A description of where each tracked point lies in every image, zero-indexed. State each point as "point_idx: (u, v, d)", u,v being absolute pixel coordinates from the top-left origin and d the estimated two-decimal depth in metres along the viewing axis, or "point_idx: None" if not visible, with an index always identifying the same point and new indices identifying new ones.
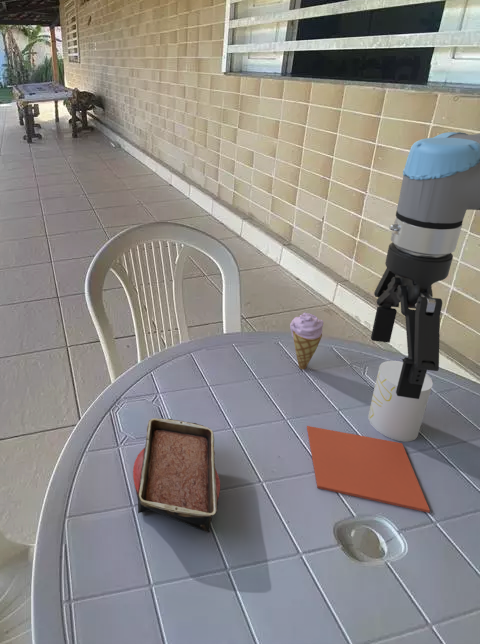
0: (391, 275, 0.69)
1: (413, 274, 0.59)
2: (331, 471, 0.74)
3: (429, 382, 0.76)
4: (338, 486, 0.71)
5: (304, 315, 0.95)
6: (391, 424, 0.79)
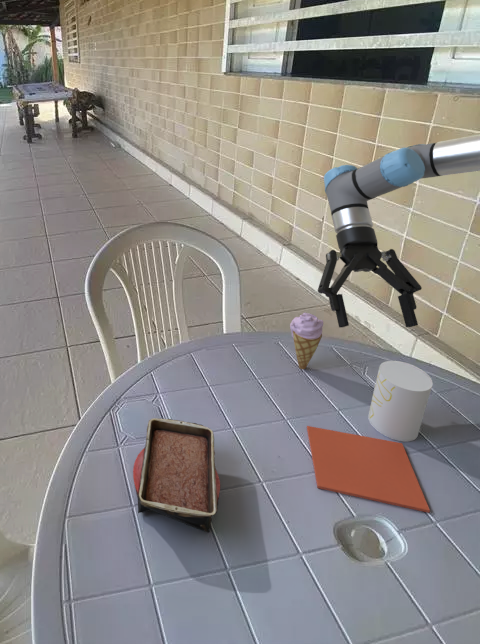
0: (390, 265, 0.92)
1: (338, 245, 0.96)
2: (331, 471, 0.74)
3: (429, 382, 0.76)
4: (338, 486, 0.71)
5: (304, 315, 0.95)
6: (391, 424, 0.79)
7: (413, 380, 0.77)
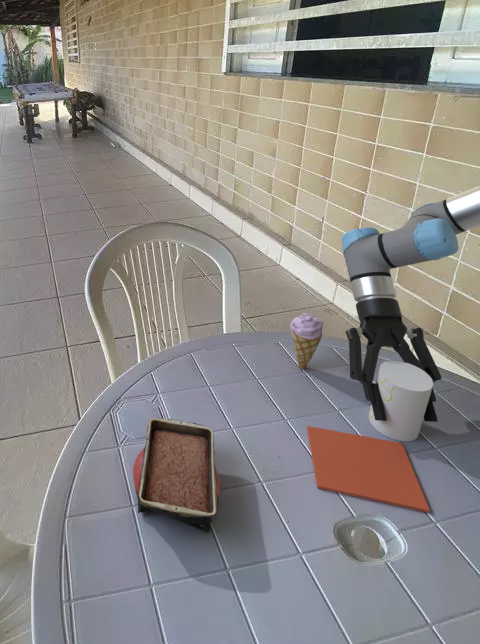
0: (413, 344, 0.84)
1: (358, 315, 0.88)
2: (331, 471, 0.74)
3: (429, 383, 0.76)
4: (338, 486, 0.71)
5: (304, 315, 0.95)
6: (391, 424, 0.79)
7: (413, 380, 0.77)
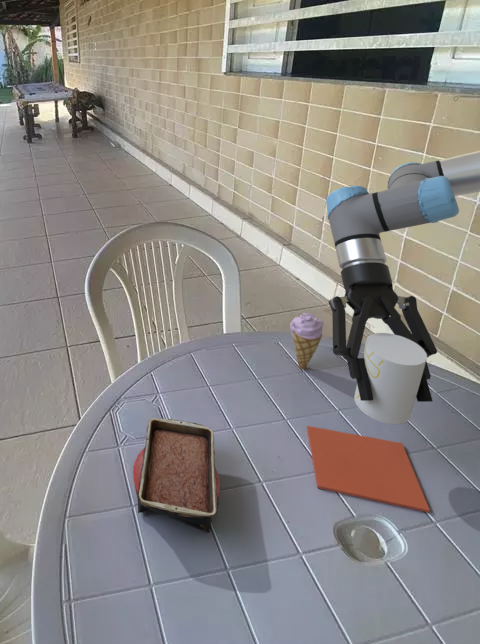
0: (405, 315, 0.74)
1: (343, 284, 0.78)
2: (331, 471, 0.74)
3: (422, 356, 0.66)
4: (338, 486, 0.71)
5: (304, 315, 0.95)
6: (379, 404, 0.69)
7: (404, 353, 0.67)
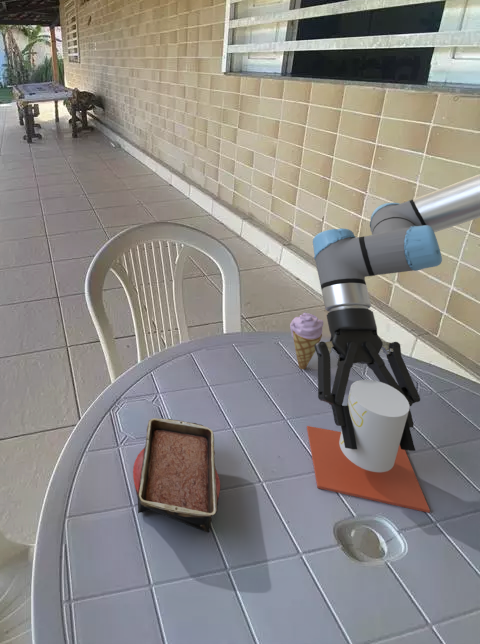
0: (389, 360, 0.75)
1: None
2: (331, 471, 0.74)
3: (405, 406, 0.67)
4: (338, 486, 0.71)
5: (304, 315, 0.95)
6: (363, 452, 0.69)
7: (387, 403, 0.68)
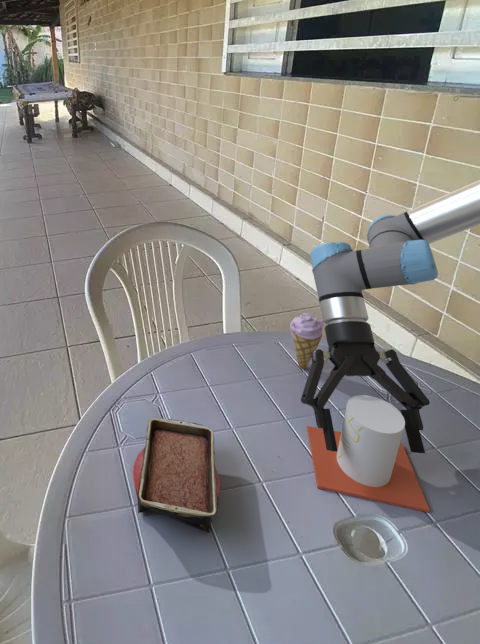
0: (390, 368, 0.76)
1: None
2: (331, 471, 0.74)
3: (401, 423, 0.68)
4: (338, 486, 0.71)
5: (304, 315, 0.95)
6: (359, 467, 0.71)
7: (383, 419, 0.69)
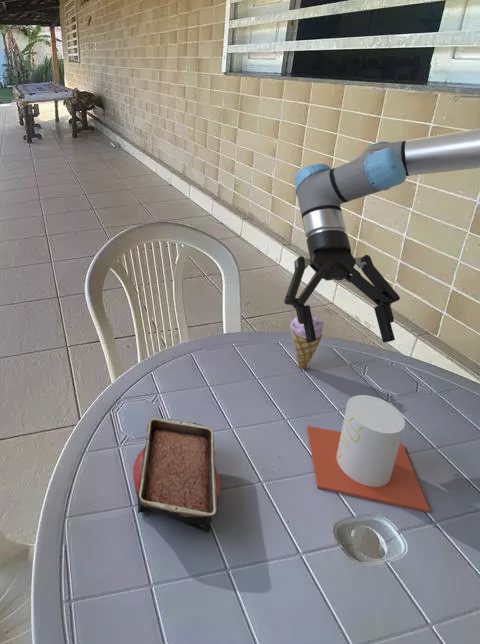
0: (365, 272, 0.83)
1: None
2: (331, 471, 0.74)
3: (401, 422, 0.68)
4: (338, 486, 0.71)
5: None
6: (359, 467, 0.71)
7: (383, 419, 0.69)
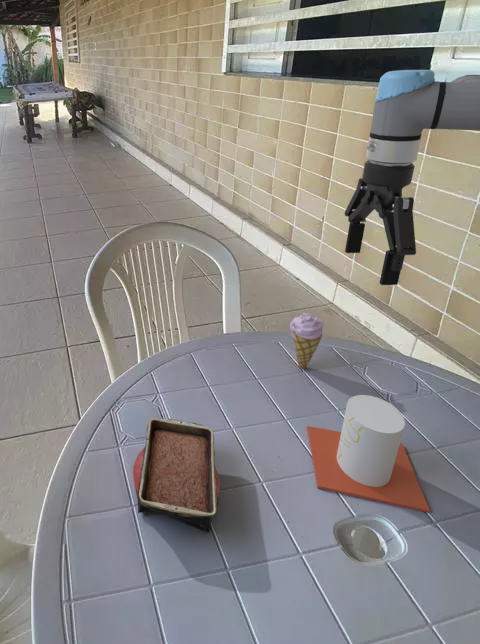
0: (361, 193, 0.84)
1: (388, 181, 0.74)
2: (331, 471, 0.74)
3: (401, 422, 0.68)
4: (338, 486, 0.71)
5: (304, 315, 0.95)
6: (359, 467, 0.71)
7: (383, 419, 0.69)
